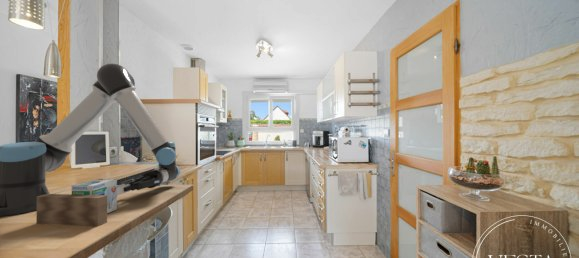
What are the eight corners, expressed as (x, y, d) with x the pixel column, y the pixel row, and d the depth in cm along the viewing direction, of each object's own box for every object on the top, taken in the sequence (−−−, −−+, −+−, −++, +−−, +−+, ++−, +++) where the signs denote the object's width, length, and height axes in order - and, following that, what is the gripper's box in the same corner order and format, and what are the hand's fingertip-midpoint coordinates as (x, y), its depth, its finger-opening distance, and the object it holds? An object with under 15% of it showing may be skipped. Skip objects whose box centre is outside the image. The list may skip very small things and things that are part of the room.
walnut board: (36, 223, 69) (36, 196, 69) (47, 219, 72) (48, 193, 72) (97, 226, 67) (98, 198, 67) (107, 222, 70) (107, 195, 70)
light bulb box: (92, 220, 71) (92, 185, 71) (70, 221, 71) (70, 185, 71) (118, 209, 82) (117, 178, 82) (98, 209, 82) (98, 178, 82)
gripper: (170, 186, 105) (132, 202, 82) (140, 186, 106) (93, 203, 82) (170, 169, 105) (131, 180, 82) (139, 170, 106) (93, 181, 82)
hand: (112, 192), depth 82 cm, fingers closed on light bulb box
